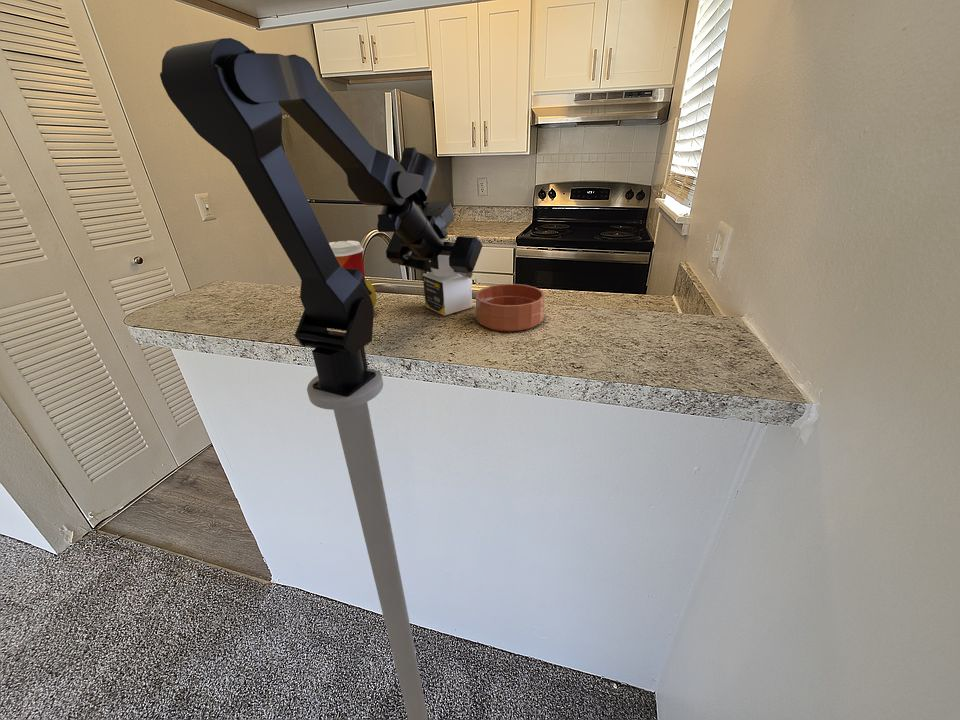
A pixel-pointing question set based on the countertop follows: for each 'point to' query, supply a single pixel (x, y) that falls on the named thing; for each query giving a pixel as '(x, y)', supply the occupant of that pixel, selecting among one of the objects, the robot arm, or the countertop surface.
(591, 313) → the countertop surface
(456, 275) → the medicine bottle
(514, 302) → the bowl
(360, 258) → the paper cup
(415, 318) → the countertop surface
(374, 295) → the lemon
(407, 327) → the countertop surface
